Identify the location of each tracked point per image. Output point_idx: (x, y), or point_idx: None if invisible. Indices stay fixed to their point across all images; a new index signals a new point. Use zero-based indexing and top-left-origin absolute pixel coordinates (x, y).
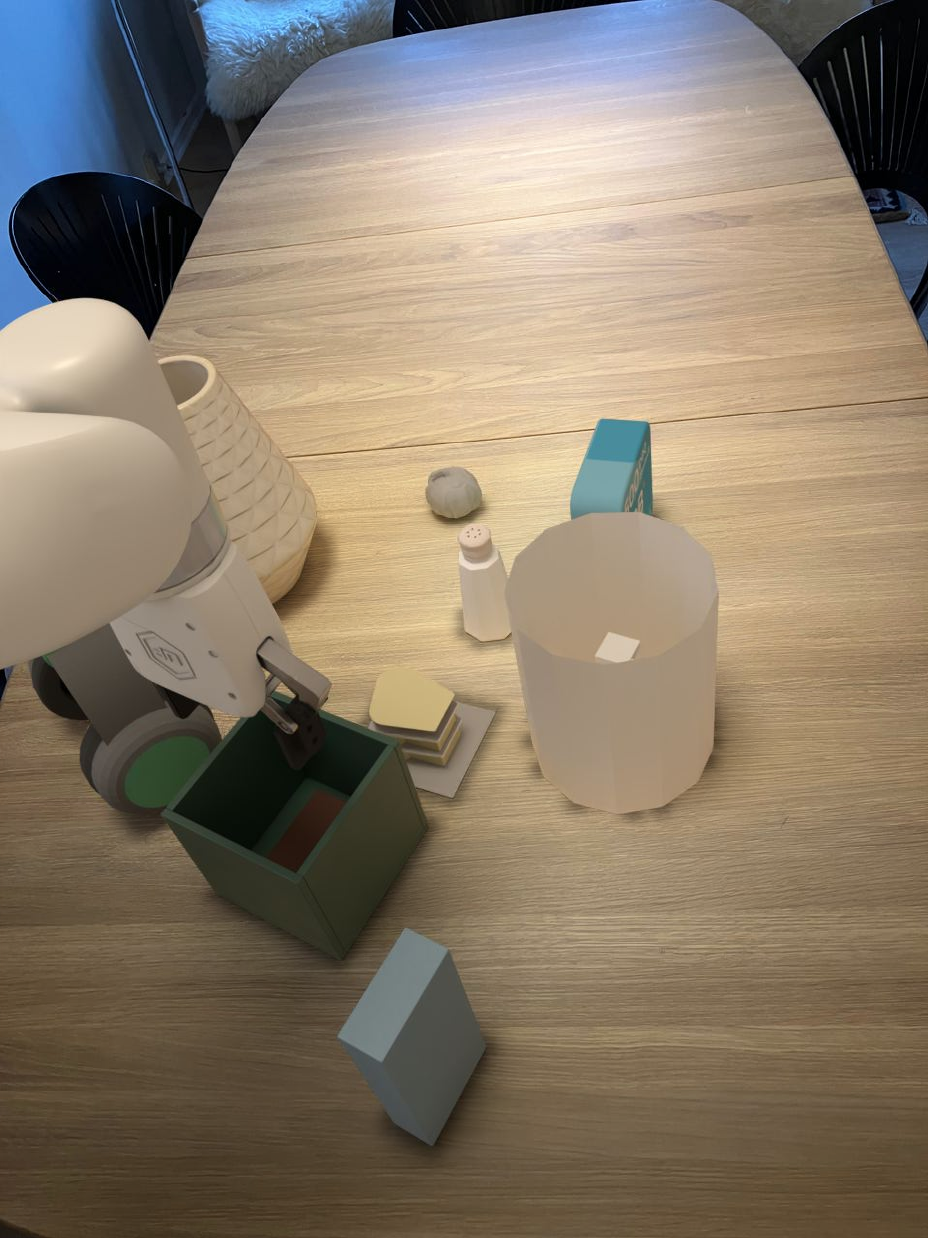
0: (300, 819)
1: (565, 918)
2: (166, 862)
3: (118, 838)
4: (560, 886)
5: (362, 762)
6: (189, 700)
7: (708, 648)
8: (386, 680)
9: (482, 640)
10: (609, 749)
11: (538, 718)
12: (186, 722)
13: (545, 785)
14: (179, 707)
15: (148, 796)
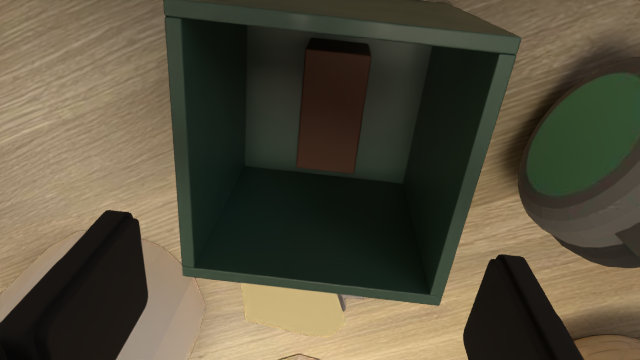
0: (352, 129)
1: (52, 119)
2: (544, 20)
3: (636, 29)
4: (78, 149)
5: (280, 224)
6: (493, 311)
7: None
8: (333, 318)
9: (297, 356)
10: (1, 310)
11: None
12: (571, 216)
13: (156, 239)
14: (507, 292)
15: (602, 91)
